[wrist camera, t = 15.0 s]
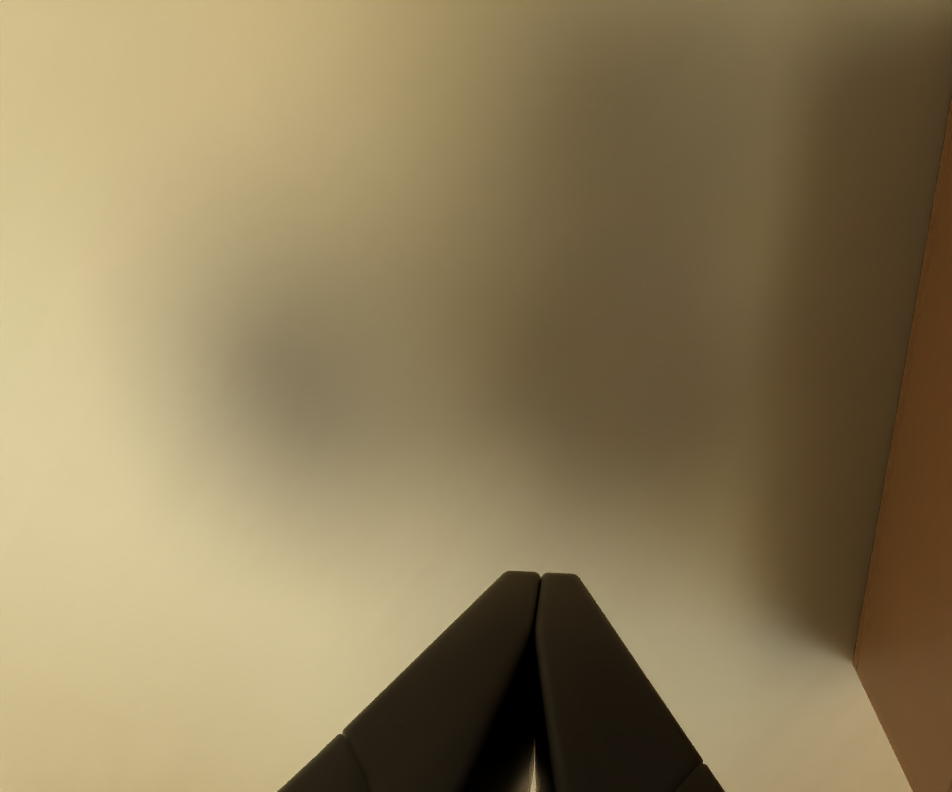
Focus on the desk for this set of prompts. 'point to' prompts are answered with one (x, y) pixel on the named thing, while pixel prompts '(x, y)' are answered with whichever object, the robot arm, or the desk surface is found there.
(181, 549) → the desk surface
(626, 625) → the desk surface
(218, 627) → the desk surface
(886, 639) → the carton
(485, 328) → the desk surface
